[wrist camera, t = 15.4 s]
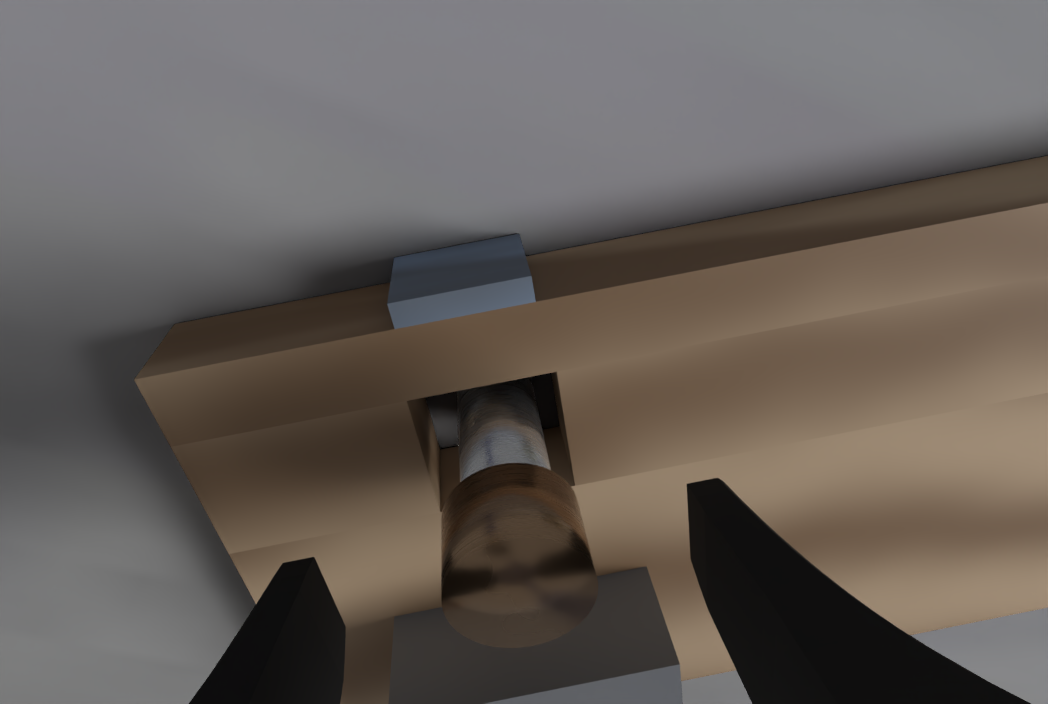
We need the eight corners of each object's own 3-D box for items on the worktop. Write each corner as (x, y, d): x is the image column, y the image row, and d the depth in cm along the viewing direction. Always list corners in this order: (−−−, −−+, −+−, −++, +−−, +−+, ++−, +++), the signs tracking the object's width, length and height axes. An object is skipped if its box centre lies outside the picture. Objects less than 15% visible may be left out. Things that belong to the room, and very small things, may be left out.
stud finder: (657, 677, 21) (689, 782, 18) (435, 721, 21) (435, 834, 18) (646, 566, 19) (681, 670, 16) (394, 616, 19) (386, 729, 16)
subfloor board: (1076, 542, 24) (1138, 600, 22) (350, 688, 24) (341, 760, 22) (1236, 95, 16) (1358, 116, 14) (163, 302, 16) (120, 355, 14)
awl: (552, 416, 19) (605, 631, 13) (453, 436, 19) (459, 660, 13) (537, 329, 17) (589, 524, 11) (430, 350, 17) (424, 557, 11)
